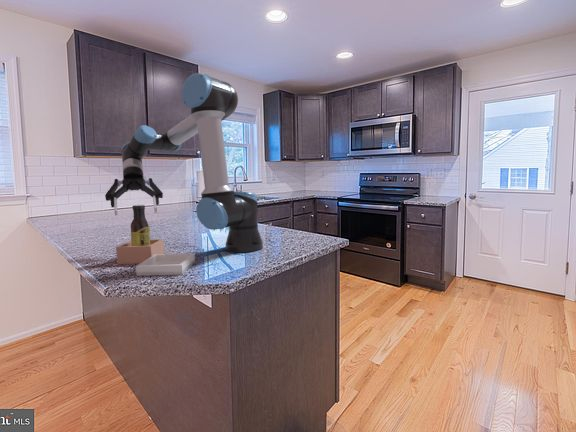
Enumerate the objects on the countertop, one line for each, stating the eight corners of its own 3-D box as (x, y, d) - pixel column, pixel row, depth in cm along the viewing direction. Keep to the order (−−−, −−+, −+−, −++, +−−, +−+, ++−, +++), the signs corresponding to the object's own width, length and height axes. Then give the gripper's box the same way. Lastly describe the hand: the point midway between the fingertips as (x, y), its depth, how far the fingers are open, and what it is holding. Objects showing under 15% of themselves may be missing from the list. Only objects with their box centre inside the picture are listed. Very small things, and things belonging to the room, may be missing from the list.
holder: (164, 254, 122) (163, 239, 121) (152, 263, 110) (150, 246, 109) (133, 255, 122) (132, 240, 121) (117, 263, 110) (115, 247, 109)
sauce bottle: (144, 261, 112) (139, 206, 110) (128, 261, 114) (123, 206, 111) (155, 256, 119) (151, 204, 116) (140, 256, 120) (136, 204, 117)
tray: (195, 261, 110) (194, 253, 110) (182, 274, 97) (181, 265, 96) (155, 263, 110) (154, 254, 110) (136, 275, 96) (135, 266, 96)
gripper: (165, 177, 139) (170, 215, 127) (99, 179, 128) (99, 220, 117) (165, 165, 133) (171, 203, 122) (96, 165, 123) (96, 207, 111)
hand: (136, 211), depth 119 cm, fingers open, 13 cm apart
